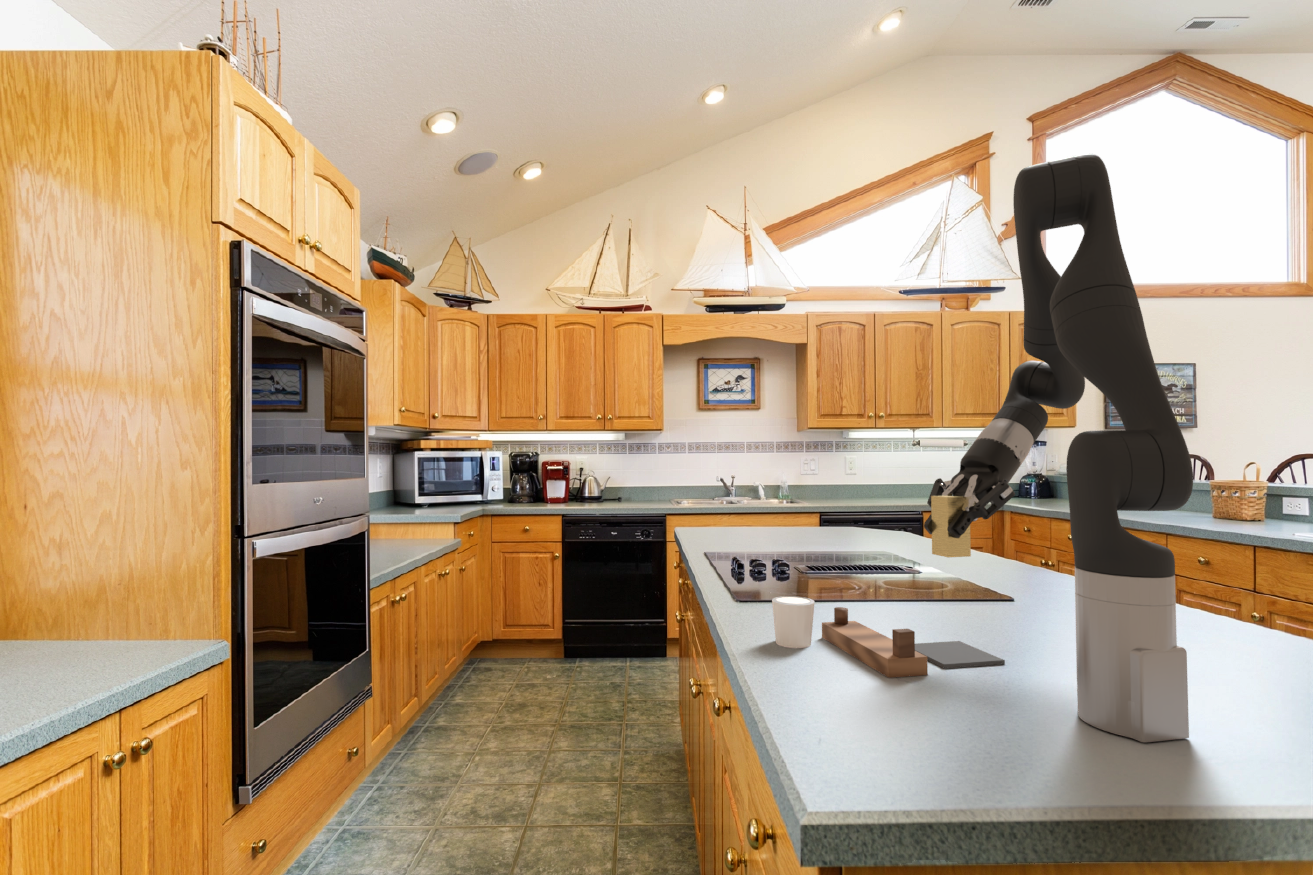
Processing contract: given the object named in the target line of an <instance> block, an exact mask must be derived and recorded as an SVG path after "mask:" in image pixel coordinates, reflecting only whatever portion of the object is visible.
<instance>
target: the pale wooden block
mask: <svg viewBox="0 0 1313 875" xmlns="http://www.w3.org/2000/svg"><path fill="white" fill-rule="evenodd" d="M965 501H966V497H964V496H953V495H952V496H931V507H930V508H931V513H932V535H931V554H932V555H936V556H941V557H944V558H963V557H965V558H967V557H972V554H971V553H972V552H971V549H972V548H971V545H972V543H971V525H970V526H969V527H968V528H967V530H966V531H965V533H964V534H962V535H961V536H960V538H953V537H952V536H951V534H950V533H949V532H948V530H947V528H948V526H949V525H950V523H951V522H952V521H953V519H954V518H955V516H956V515H957V514H958V512H959V511H963V510H962V507H963V505H964V503H965Z"/></svg>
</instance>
